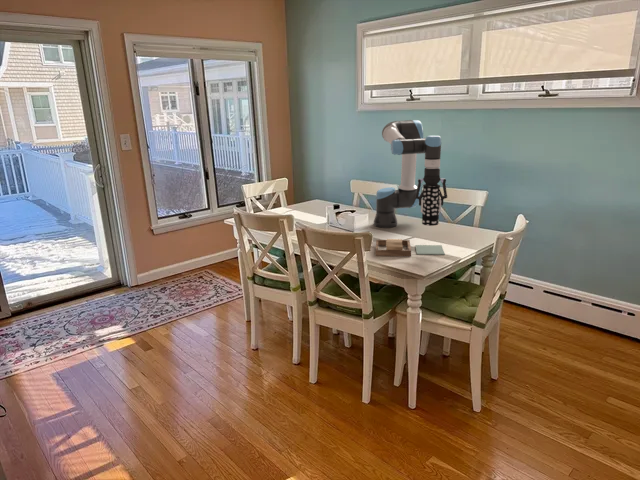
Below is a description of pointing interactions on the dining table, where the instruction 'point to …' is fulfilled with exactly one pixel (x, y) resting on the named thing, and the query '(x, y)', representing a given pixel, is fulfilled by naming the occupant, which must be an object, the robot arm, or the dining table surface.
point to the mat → (429, 250)
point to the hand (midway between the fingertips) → (430, 211)
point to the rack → (393, 252)
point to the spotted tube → (431, 205)
